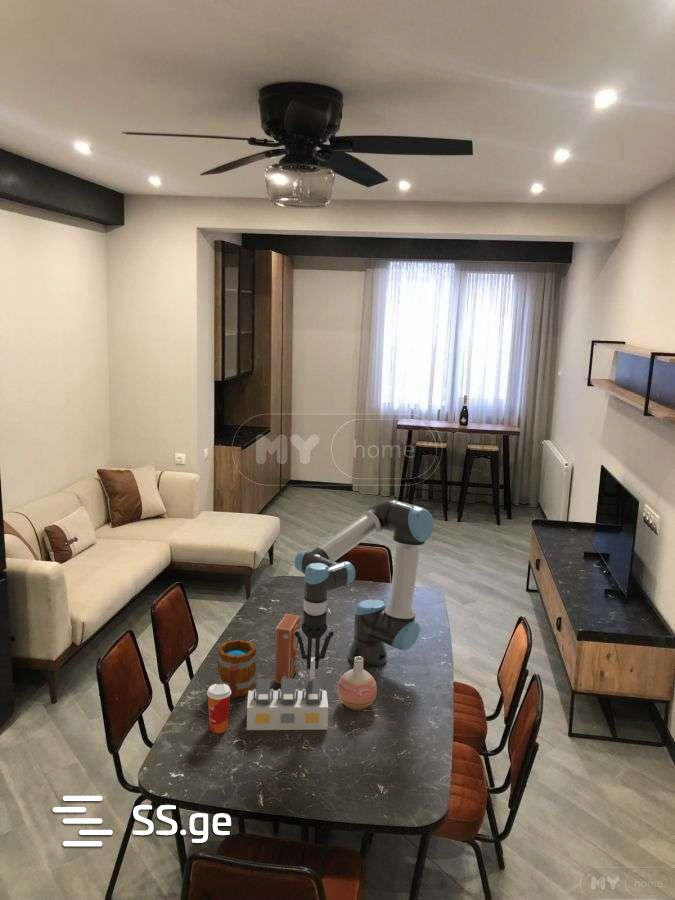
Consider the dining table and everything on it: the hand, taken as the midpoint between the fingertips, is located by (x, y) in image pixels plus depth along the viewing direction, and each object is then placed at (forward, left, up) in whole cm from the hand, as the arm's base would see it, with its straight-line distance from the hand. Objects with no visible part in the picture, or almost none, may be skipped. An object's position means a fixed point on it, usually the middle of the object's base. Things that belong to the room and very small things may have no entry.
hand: (312, 677), depth 233 cm
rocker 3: (0, +3, -3) cm, 4 cm away
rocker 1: (+16, +3, -3) cm, 17 cm away
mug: (+26, -15, -14) cm, 33 cm away
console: (+8, +3, -14) cm, 16 cm away
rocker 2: (+8, +3, -3) cm, 9 cm away
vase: (-16, -6, -14) cm, 22 cm away
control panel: (+8, -26, -14) cm, 31 cm away
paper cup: (+30, +7, -14) cm, 34 cm away
